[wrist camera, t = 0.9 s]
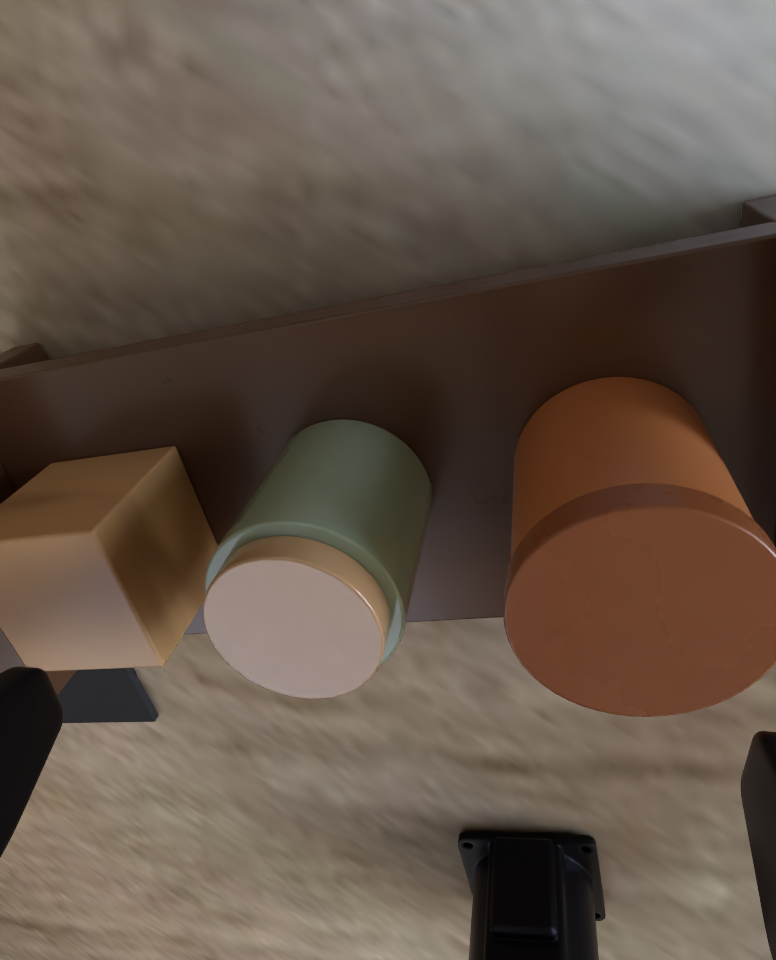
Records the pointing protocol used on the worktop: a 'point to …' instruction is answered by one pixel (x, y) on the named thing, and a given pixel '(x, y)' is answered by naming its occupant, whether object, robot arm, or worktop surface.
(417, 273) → the worktop surface
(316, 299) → the worktop surface
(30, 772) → the robot arm
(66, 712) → the black rubber mat
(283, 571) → the sage jar
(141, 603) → the oak block
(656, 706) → the copper tin
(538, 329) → the walnut shelf
